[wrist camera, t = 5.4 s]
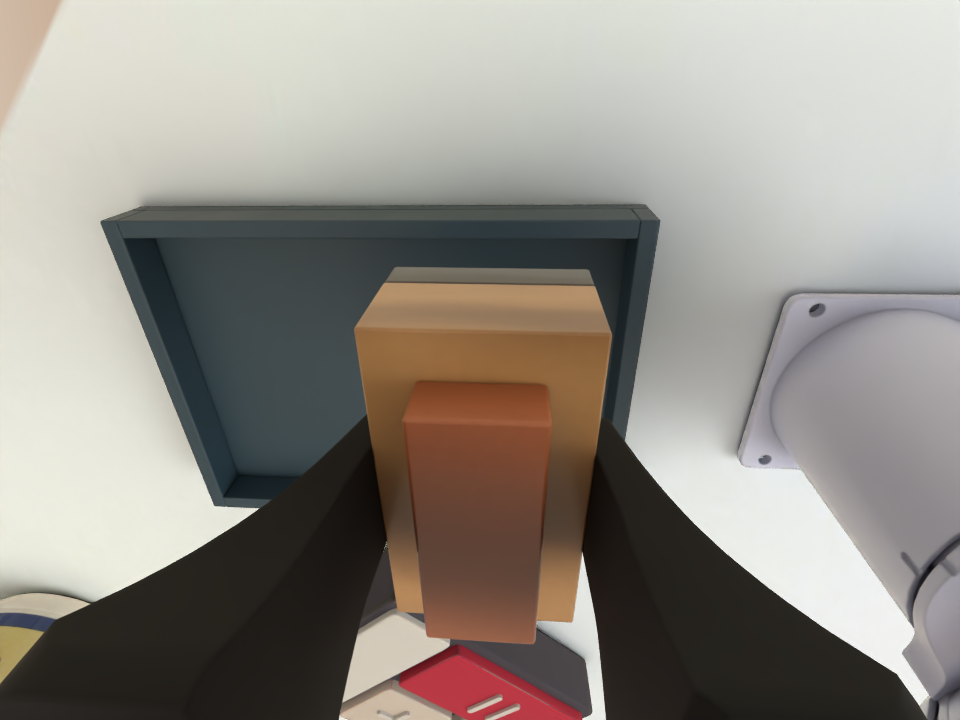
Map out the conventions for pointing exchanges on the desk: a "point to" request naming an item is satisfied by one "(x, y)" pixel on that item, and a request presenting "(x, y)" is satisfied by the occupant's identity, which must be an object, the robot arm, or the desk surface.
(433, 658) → the calculator
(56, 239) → the desk surface
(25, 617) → the supplement tub
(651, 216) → the tray
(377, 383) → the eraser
